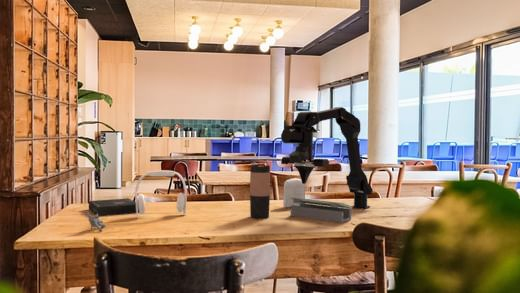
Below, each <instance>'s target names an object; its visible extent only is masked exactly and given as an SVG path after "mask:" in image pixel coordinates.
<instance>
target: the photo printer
mask: <svg viewBox="0 0 520 293" xmlns="http://www.w3.org/2000/svg"><path fill="white" fill-rule="evenodd" d="M291 197H293V198H302V199H306V183H305V184H303V183H302V180H301V178H295V177H294V178H289V179H287V180H285V181H284V183H283V207H284V208H291V206H292V205H294V206H300V203H293V200H291Z"/></svg>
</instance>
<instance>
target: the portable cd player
mask: <svg viewBox="0 0 520 293" xmlns="http://www.w3.org/2000/svg"><path fill="white" fill-rule="evenodd" d="M88 211H89V212H91V213H92V214H94V215H97V213H98V216H100V217H105V216H106V217H107V216H117V215H118V216H119V215H128V214H136V200H133V199H131V198H128V197H127V198H116V199H115V198H114V199H113V198H112V199H101V200H88ZM138 214H140V213H139V209H138Z"/></svg>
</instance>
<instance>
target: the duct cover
mask: <svg viewBox="0 0 520 293" xmlns="http://www.w3.org/2000/svg"><path fill="white" fill-rule="evenodd" d="M291 200H293V203H305V204H313V205H322V206H330V207H334V208H347V209H351V210H352V209H353V207H352V206H353V205H348V204H347V203H344V202H336V201H328V200H326V201H325V200H318V199H310V198H305V199H302V198H293V197H291Z"/></svg>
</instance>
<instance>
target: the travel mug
mask: <svg viewBox="0 0 520 293" xmlns="http://www.w3.org/2000/svg"><path fill="white" fill-rule="evenodd" d="M249 176H250V177H249V180H250V181H249V187H250V188H249V203H250V204H249V208H250V210H249V211H250V214H249V215H250V218H251V219H255V220H256V219H257V220H262V219H263V220H264V219H268V218H269V217H270V201H271V200H270V199H271V198H270V197H271V165H269V164H266V165H264V166H263V165H261V164H252V165H250V175H249Z"/></svg>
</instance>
